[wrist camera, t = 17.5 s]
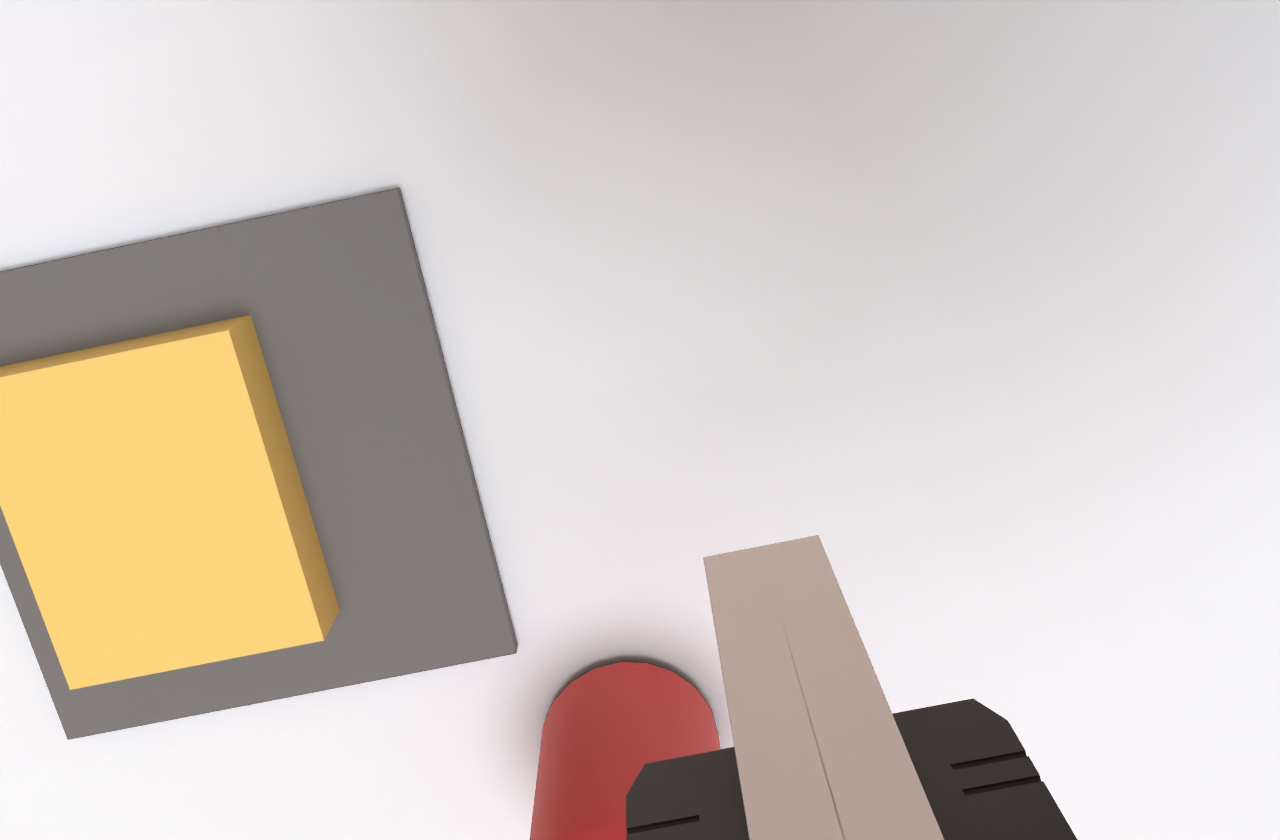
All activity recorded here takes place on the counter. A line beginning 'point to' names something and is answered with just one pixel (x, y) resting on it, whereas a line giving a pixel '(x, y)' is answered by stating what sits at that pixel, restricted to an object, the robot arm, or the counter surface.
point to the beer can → (612, 746)
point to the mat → (297, 443)
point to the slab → (159, 504)
